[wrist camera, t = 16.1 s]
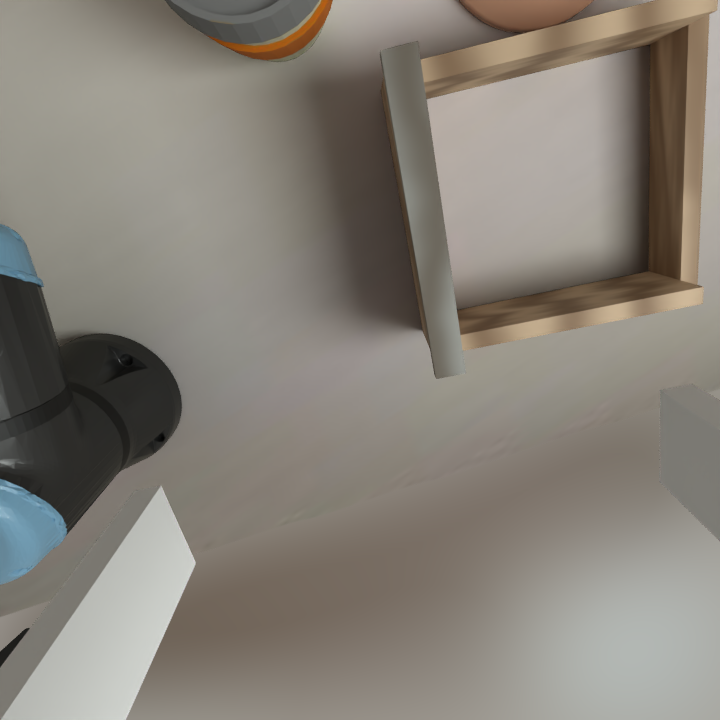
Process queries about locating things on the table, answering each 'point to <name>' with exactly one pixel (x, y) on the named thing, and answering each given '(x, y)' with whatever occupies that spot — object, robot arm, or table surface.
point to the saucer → (524, 13)
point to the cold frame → (666, 172)
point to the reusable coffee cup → (258, 24)
